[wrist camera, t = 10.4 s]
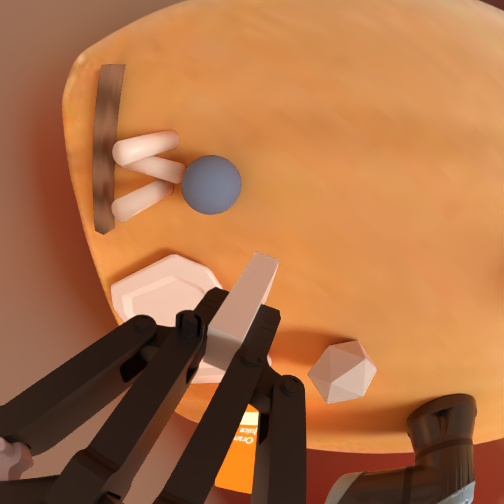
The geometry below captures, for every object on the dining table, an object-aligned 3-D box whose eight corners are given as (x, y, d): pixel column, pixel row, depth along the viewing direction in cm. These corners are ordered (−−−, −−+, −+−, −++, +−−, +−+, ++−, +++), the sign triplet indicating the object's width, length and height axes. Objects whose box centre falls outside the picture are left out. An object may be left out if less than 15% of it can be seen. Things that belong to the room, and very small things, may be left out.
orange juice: (301, 406, 46) (272, 501, 29) (261, 407, 50) (226, 492, 33) (286, 383, 43) (249, 488, 27) (243, 385, 47) (200, 477, 31)
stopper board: (114, 227, 39) (103, 234, 37) (105, 224, 39) (95, 230, 37) (125, 64, 26) (111, 64, 24) (114, 65, 26) (101, 65, 24)
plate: (107, 284, 47) (100, 291, 45) (199, 237, 35) (191, 244, 33) (182, 377, 54) (177, 384, 52) (286, 368, 42) (282, 378, 40)
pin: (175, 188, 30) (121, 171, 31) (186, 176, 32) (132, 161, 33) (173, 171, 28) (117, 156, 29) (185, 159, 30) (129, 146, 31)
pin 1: (177, 151, 30) (129, 167, 23) (161, 147, 30) (111, 163, 23) (180, 131, 29) (131, 142, 21) (163, 128, 29) (113, 139, 22)
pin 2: (172, 198, 33) (128, 224, 26) (157, 193, 33) (111, 218, 26) (174, 179, 32) (128, 203, 25) (158, 175, 32) (111, 197, 25)
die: (319, 322, 36) (287, 386, 33) (375, 335, 29) (340, 411, 26) (344, 343, 40) (316, 398, 37) (392, 355, 33) (363, 418, 30)
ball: (169, 206, 29) (212, 194, 32) (202, 232, 26) (248, 216, 29) (171, 152, 25) (219, 146, 29) (208, 171, 22) (258, 163, 26)
